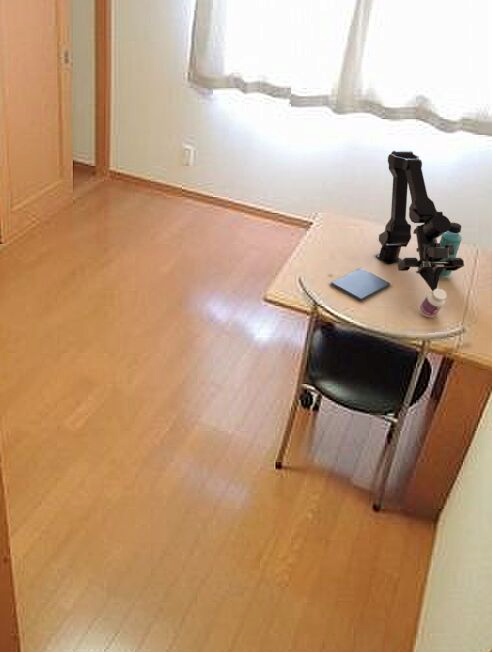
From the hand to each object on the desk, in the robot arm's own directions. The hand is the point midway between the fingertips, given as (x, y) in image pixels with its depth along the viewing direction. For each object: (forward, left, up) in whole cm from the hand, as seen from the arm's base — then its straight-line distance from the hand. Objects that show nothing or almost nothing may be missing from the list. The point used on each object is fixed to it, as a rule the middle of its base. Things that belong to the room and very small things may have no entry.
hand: (434, 290), depth 201 cm
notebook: (+8, -22, -9) cm, 24 cm away
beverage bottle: (-22, -15, -9) cm, 28 cm away
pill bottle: (0, 0, -8) cm, 8 cm away
